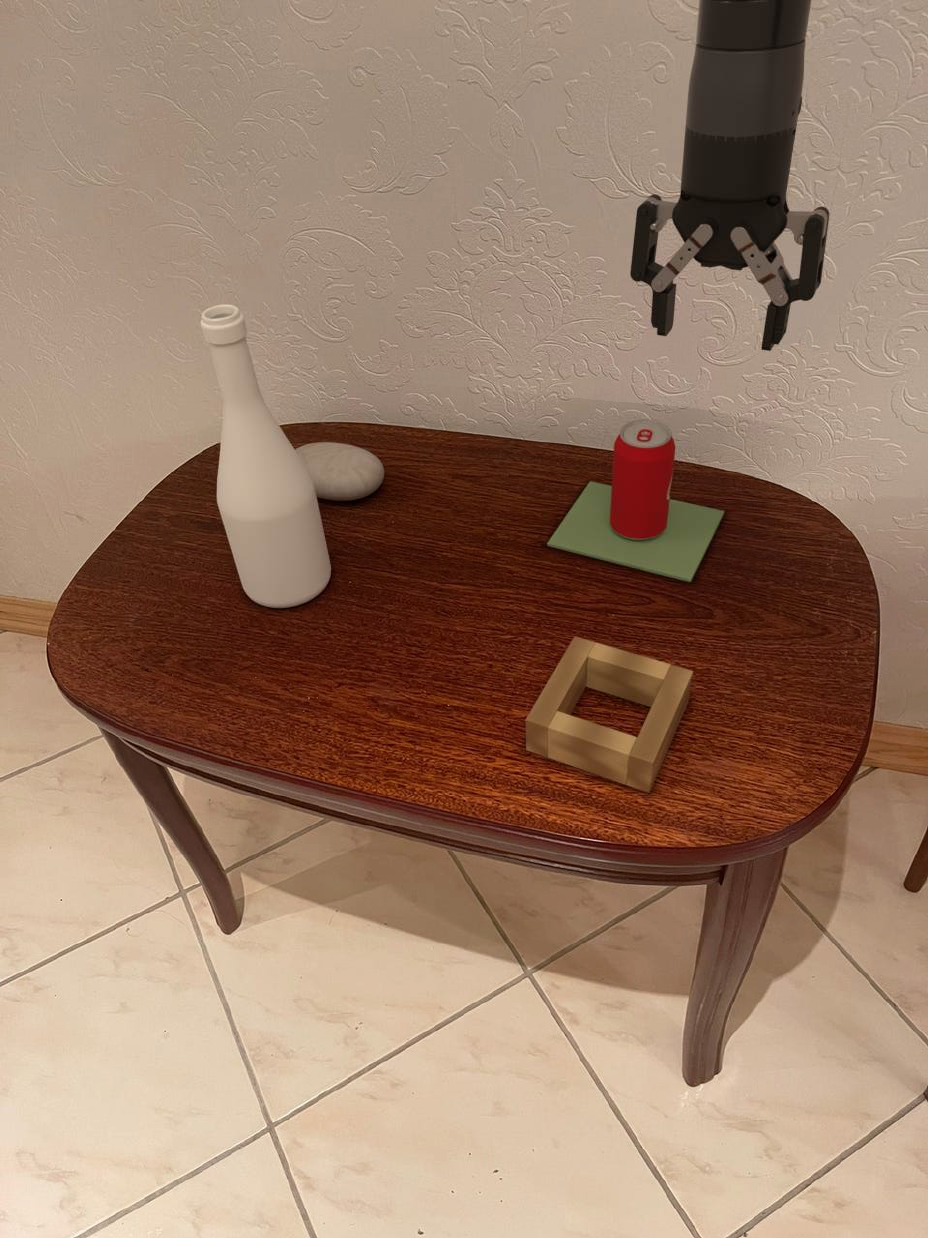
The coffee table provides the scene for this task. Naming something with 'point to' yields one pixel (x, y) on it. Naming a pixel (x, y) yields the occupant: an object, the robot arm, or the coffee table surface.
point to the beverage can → (641, 479)
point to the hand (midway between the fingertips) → (715, 339)
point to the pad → (660, 555)
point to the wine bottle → (262, 481)
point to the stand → (597, 744)
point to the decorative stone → (341, 470)
